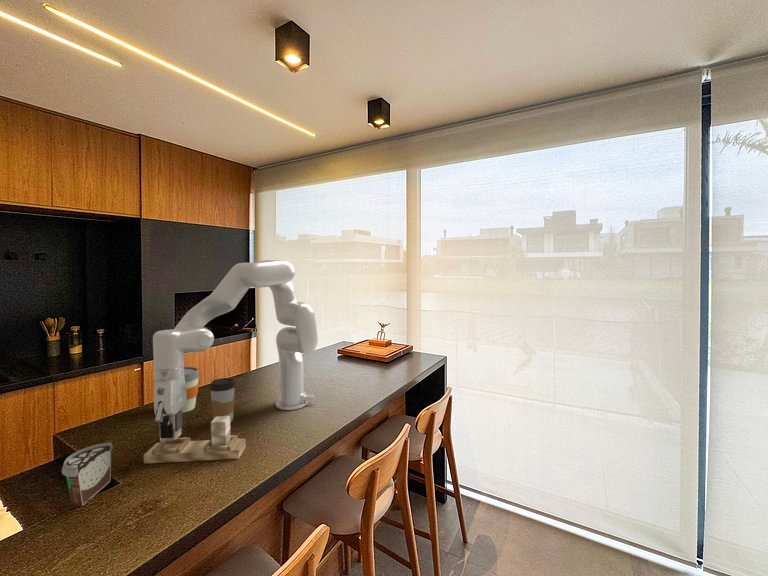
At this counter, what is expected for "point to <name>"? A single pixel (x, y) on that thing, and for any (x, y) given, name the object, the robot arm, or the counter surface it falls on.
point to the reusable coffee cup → (191, 387)
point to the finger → (175, 426)
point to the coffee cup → (222, 397)
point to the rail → (200, 446)
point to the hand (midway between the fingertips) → (171, 433)
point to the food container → (88, 472)
